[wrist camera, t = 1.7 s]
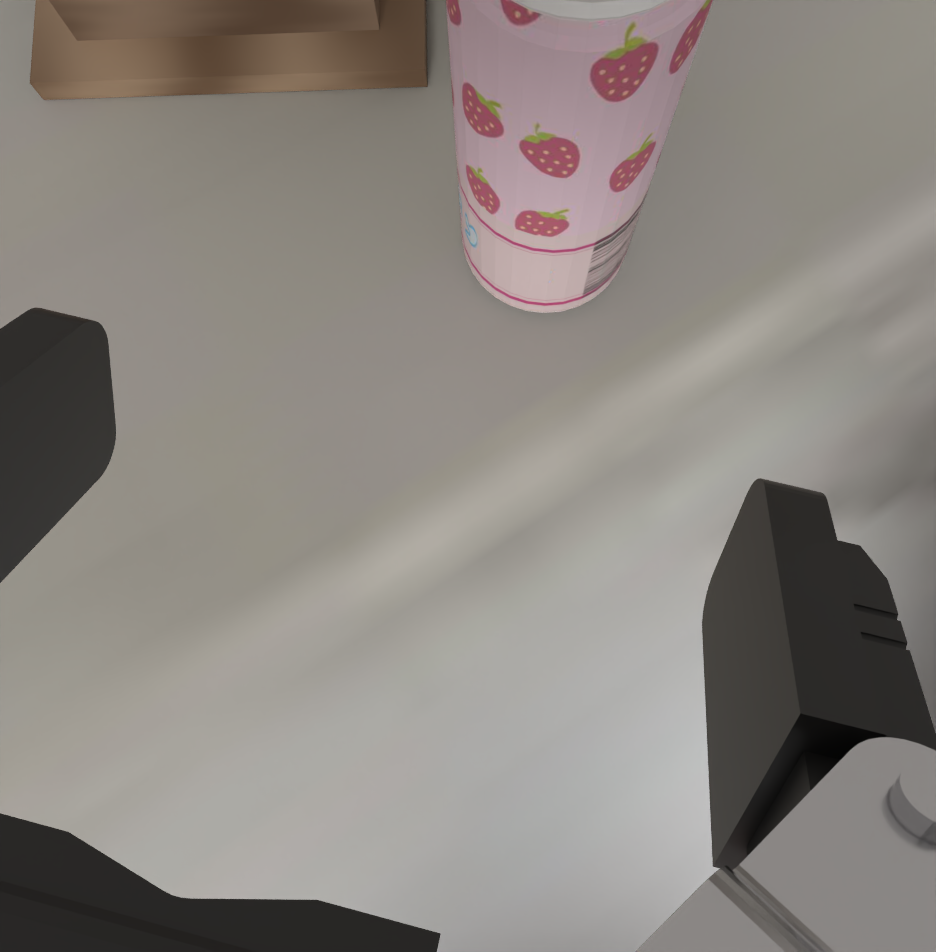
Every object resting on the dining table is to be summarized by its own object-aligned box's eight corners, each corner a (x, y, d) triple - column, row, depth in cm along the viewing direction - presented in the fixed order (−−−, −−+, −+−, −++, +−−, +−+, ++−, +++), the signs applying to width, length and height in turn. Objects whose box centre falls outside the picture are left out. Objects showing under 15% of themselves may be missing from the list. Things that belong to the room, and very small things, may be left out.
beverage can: (471, 157, 32) (453, -263, 17) (632, 170, 31) (757, -242, 16) (453, 308, 31) (418, 6, 16) (619, 324, 30) (741, 31, 16)
